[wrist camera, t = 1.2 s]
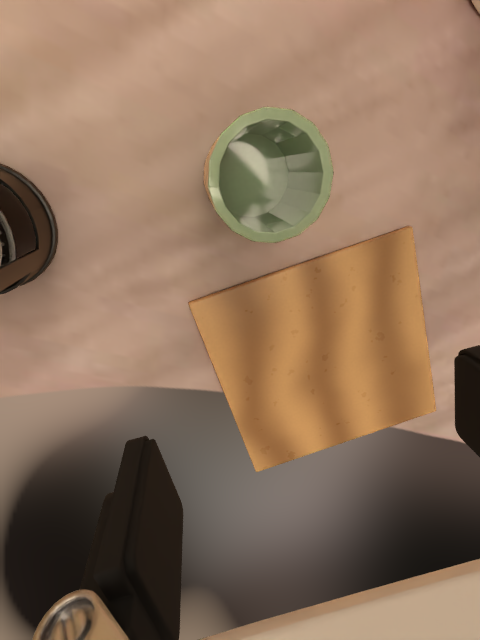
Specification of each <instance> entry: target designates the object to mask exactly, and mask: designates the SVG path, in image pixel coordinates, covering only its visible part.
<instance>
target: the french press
mask: <svg viewBox="0 0 480 640" xmlns="http://www.w3.org/2000/svg"><path fill="white" fill-rule="evenodd" d="M0 184H1V185H3V186H5V187H7V188H9V189H10V190H11V191H12V193H13V194H14V195H15V196H16V197H17V198H18V199H19V200H20V202H21V203H22V205H23V206H24V208H25V209H26V211H27V212H28V215H29V217H30V219H31V221H32V224H33V227H34V232H35V236H36V249H35V250H33V251H31V252H29V253H27V254H25V255H23V256H21V257H19V258H17V250H16V242H15V239H14V235H13V232H12V229H11V227H10V225H9V223H8V221H7V218H6V217H5V215H4V214H3V212H2V211H1V210H0V294H4V293H7V292H9V291H11V290H13V289H15V288H17V287H18V286H21V285H24V284H26V283H28V282H30V281H32V280H34V279H36V278H37V277H38V276H39V275H41V274H42V273H43V272H44V271H45V270H46V268H47V267H48V266H49V265H50V263H51V261H52V259H53V257H54V255H55V252H56V247H57V226H56V221H55V217H54V215H53V212H52V210H51V207H50V205H49V204H48V202H47V201H46V199H45V197H44V196H43V194H42V193H41V192H40V191H39V190H38V189H37V188H36V186H35V185H34V184H33V183H32V182H30V181H29V180H28V179H27V178H25V177H24V176H23V175H22V174H20V173H19V172H17V171H15V170H13V169H11V168H10V167H8V166H5V165H2V164H0Z"/></svg>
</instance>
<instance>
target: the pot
mask: <svg viewBox="0 0 480 640" xmlns="http://www.w3.org/2000/svg"><path fill="white" fill-rule="evenodd" d="M332 179H333V166H332V161H331V156H330V151H329V147H328V144H327V143H326V141H325V140H324V138H323V137H322V135H321V133H320V132H319V130H318V129H317V127H316V126H315V124H313V122H311V121H309V120H308V119H306V118H305V117H303V116H302V115H300V114H298V113H297V112H295V111H294V110H291V109H284V108H275V107H263V108H260V109H257V110H254V111H251V112H248V113H246V114H243V115H241V116H239V117H238V118H237V119H236V120H235V121H234V122H233V123H232V124H231V125H230V126H229V127H228V128H227V129H226V130H224V131H223V132H222V133H221V135H220V136H219V137H218V138H217V140H216V141H215V142H214V143H213V145H212V147H211V149H210V151H209V153H208V155H207V158H206V160H205V163H204V186H205V189H206V192H207V195H208V198H209V201H210V202H211V204H212V206H213V207H214V209H215V211H216V212H217V214H218V215H219V216H220V217H221V218H222V220H223V221H224V222H225V223H226V224H227V226H228V227H229V228H230V229H231V230H232V231H233V232H235V233H237V234H239V235H241V236H243V237H245V238H247V239H249V240H251V241H254V242H267V243H276V242H277V243H278V242H281V241H284V240H286V239H289V238H292V237H295V236H298V235H299V234H301V233H302V232H303V231H304V230H305V229H306V228H308V227H309V226H310V225H311V224H312V223H313V222H315V221H316V220H317V219H318V217H319V215H320V213H321V212H322V210H323V208H324V206H325V204H326V203H327V201H328V199H329V197H330V191H331V185H332Z"/></svg>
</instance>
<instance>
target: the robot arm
mask: <svg viewBox="0 0 480 640" xmlns="http://www.w3.org/2000/svg"><path fill="white" fill-rule="evenodd" d="M471 1H472V3H473V4H474V6H475V8H476V9H477V11H478V12H479V13H480V0H471ZM454 364H455V428H456V431H457V433H458V435H459V436H460V438H461V439H462V440H463V441H464V442H465V443H466V444H467V445H468V446H469V447H470V448H471V449H472V450H473V451H474V452H475V453H476V454H477V455H478V456H479V457H480V345H478V346H475V347H471V348H467V349H464V350H461V351H460V352H459V355H458V356H457V357H456V358H455V361H454ZM182 534H183V508H182V503H181V500H180V498H179V496H178V493H177V491H176V489H175V486H174V484H173V482H172V479H171V477H170V474H169V472H168V469H167V467H166V465H165V462H164V460H163V458H162V455H161V453H160V450H159V448H158V446H157V443H156V441H155V440H154V439H151V440H149V439H148V437H147V436H143V437H140V438H136V439H132V440H129V441H127V442H126V445H125V449H124V453H123V457H122V461H121V465H120V469H119V473H118V477H117V481H116V485H115V489H114V492H113V493H109V494H107V495H106V497H105V500H104V502H103V506H102V509H101V513H100V517H99V520H98V524H97V528H96V532H95V535H94V539H93V543H92V546H91V550H90V554H89V557H88V561H87V565H86V568H85V572H84V576H83V580H82V583H81V587H80V590H78V591H74V592H72V593H70V594H68V595H66V596H64V597H63V598H62V599H60V600H59V601H58V602H57V603H55V604H54V605H53V606H52V608H51V609H50V610H49V611H48V612H47V613H46V614H45V616H44V617H43V619H42V620H41V622H40V624H39V625H38V627H37V629H36V632H35V634H34V637H33V640H179V630H180V597H181V565H182ZM199 640H480V559H478V560H474V561H471V562H467V563H463V564H459V565H456V566H453V567H449V568H445V569H441V570H438V571H435V572H431V573H427V574H424V575H420V576H416V577H413V578H409V579H406V580H402V581H399V582H395V583H392V584H388V585H384V586H381V587H377V588H374V589H370V590H367V591H363V592H359V593H356V594H352V595H349V596H345V597H342V598H338V599H335V600H331V601H328V602H324V603H321V604H317V605H314V606H311V607H307V608H303V609H300V610H296V611H293V612H289V613H286V614H283V615H279V616H275V617H272V618H268V619H265V620H261V621H258V622H255V623H251V624H248V625H245V626H242V627H238V628H235V629H232V630H228V631H225V632H222V633H219V634H215V635H212V636H209V637H206V638H203V639H199Z"/></svg>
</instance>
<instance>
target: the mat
mask: <svg viewBox="0 0 480 640" xmlns="http://www.w3.org/2000/svg"><path fill="white" fill-rule="evenodd" d="M189 307H190V309H191V312H192V314H193V317H194V319H195V322H196V324H197V327H198V329H199V332H200V334H201V337H202V339H203V342H204V344H205V347H206V349H207V352H208V354H209V356H210V359H211V361H212V364H213V366H214V369H215V371H216V374H217V376H218V379H219V381H220V384H221V386H222V389H223V391H224V394H225V396H226V399H227V401H228V404H229V406H230V408H231V411H232V413H233V416H234V418H235V421H236V423H237V426H238V428H239V431H240V433H241V436H242V438H243V441H244V443H245V446H246V448H247V450H248V453H249V456H250V458H251V461H252V463H253V466H254V468H255V471H256V472H258V471H261V470H264V469H267V468H270V467H273V466H276V465H279V464H282V463H285V462H288V461H291V460H294V459H297V458H299V457H303V456H305V455H308V454H311V453H314V452H317V451H320V450H323V449H326V448H329V447H332V446H335V445H337V444H341V443H343V442H346V441H349V440H352V439H355V438H358V437H361V436H364V435H367V434H369V433H373V432H376V431H379V430H381V429H384V428H387V427H390V426H393V425H396V424H399V423H402V422H405V421H408V420H411V419H414V418H417V417H420V416H423V415H425V414H428V413H431V412H434V411H436V406H435V398H434V390H433V383H432V375H431V367H430V360H429V352H428V344H427V337H426V329H425V321H424V314H423V306H422V298H421V290H420V283H419V275H418V267H417V260H416V252H415V244H414V237H413V229H412V227H410V226H407V227H404V228H401V229H399V230H396V231H393V232H390V233H387V234H384V235H381V236H378V237H375V238H373V239H370V240H367V241H364V242H361V243H358V244H355V245H352V246H349V247H347V248H344V249H341V250H338V251H335V252H332V253H329V254H326V255H323V256H321V257H318V258H315V259H312V260H309V261H306V262H303V263H300V264H297V265H295V266H292V267H289V268H286V269H283V270H280V271H277V272H274V273H271V274H269V275H266V276H263V277H260V278H257V279H254V280H251V281H248V282H245V283H243V284H240V285H237V286H234V287H231V288H228V289H225V290H222V291H219V292H217V293H214V294H211V295H208V296H205V297H202V298H199V299H196V300H193V301H191V302H189Z"/></svg>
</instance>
